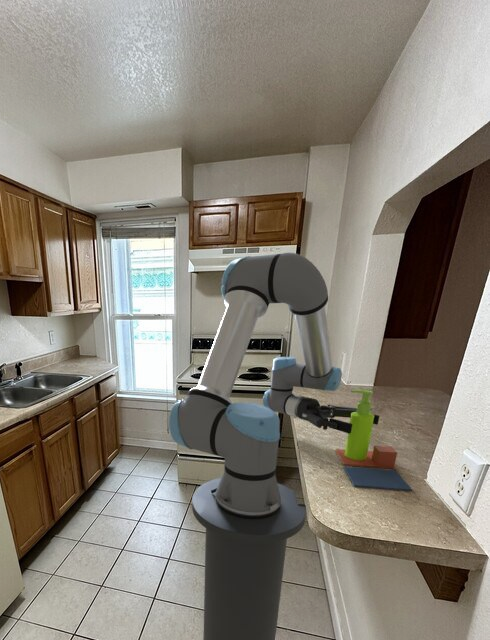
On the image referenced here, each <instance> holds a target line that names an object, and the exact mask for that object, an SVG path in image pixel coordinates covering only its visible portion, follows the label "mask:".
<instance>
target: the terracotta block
mask: <svg viewBox="0 0 490 640" xmlns="http://www.w3.org/2000/svg"><path fill="white" fill-rule="evenodd" d="M372 451H373V454H372V459H371V460H372V461H373V462H374V464H375V465H376V466H382V467H395V464H396V459H397V456H398V452H397V451H396V450H395V449H394V448H393V447H392V445H391V446H390V445H388V446H387V445H373V449H372Z"/></svg>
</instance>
